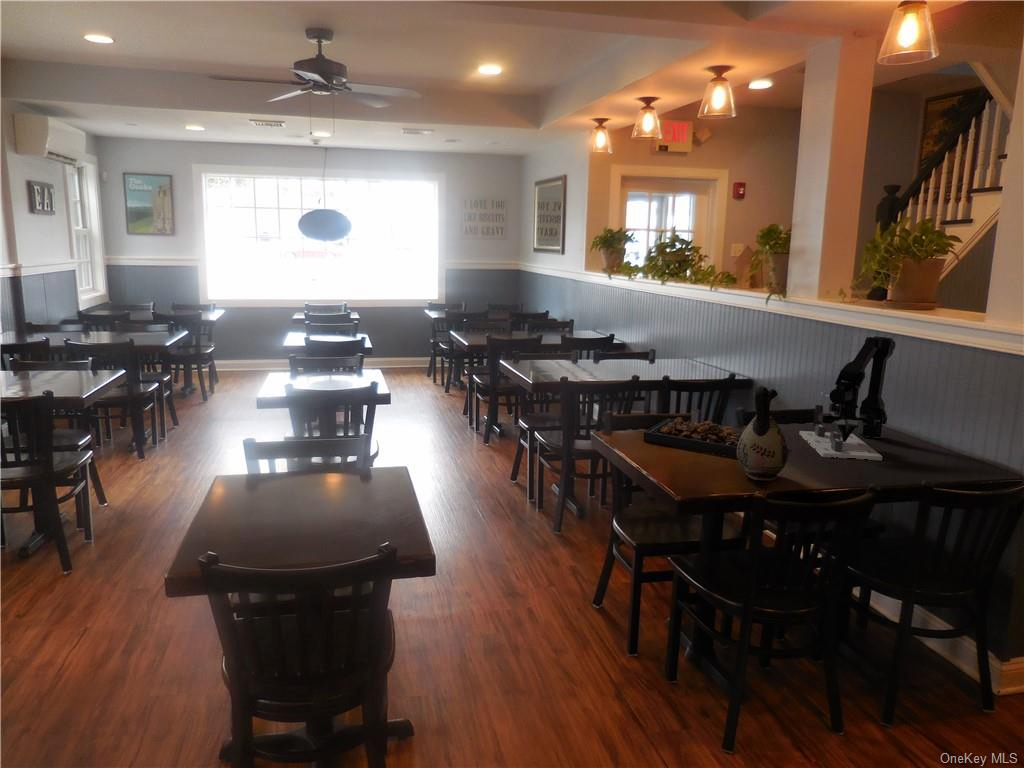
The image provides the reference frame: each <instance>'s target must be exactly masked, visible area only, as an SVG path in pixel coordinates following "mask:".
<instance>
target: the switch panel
mask: <svg viewBox="0 0 1024 768" xmlns="http://www.w3.org/2000/svg"><path fill="white" fill-rule="evenodd" d="M830 433H831V432H828V431H827V432H826V431H825V436H817V435H816V434H815V431H809V430H808V431H806V430H799V435H801V436H802V437H801V436H800V437H801V438H802V439H804V441H806V440H807V441H808V442H807V441H806V442H807V443H808V444H809V443H810V444H809V446H811V447H812V448H813V449H814V448H815V449H816V450H815V449H814V450H815V451H816V452H817V453H818V454H819V455H820V456H821V457H822V458H831V457H834V458H835V459H847V458H856V459H855V460H864V459H868V460H867V461H882V460H883V456H882V455H881V454H880V453H879V452H877V450H875V449H873V448H872V447H870V446H869V445H868V444H867V443H865V442H864V441H863V440H861V439H860V438H859V437H858V436H856V435H855V434H854V433H851V434H850V436H849V437H848V439H847V440H846V442H843V446H842V451H834V450H833V449H832V448H831V443H832V442H831V441H830ZM841 441H842V438H841ZM836 457H838V458H836ZM834 458H833V459H834ZM882 462H883V461H882Z"/></svg>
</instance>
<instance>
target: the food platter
mask: <svg viewBox="0 0 1024 768" xmlns="http://www.w3.org/2000/svg"><path fill="white" fill-rule="evenodd" d="M743 431H744V430H739V429H733V428H731V427H730V426H724V427H722V426H721V425H720V424H717V423H713V422H712V420H705V421H704V422H703V421H702V422H700V423H699V422H696V421H694V422H691V421H690V420H687V421H684V418H683V417H681V416H680V417H679V416H678V417H677V418H670V419H669V418H665V419H664V420H662V421H660V422H659V423H657V424H655V425H654V426H652V427H650V428H647V430H645V431H644V432H643V437H642V439H643V440H642V442H643V441H645V442H644V443H648V442H651V443H650V444H654V443H658V444H657V445H659V444H663V445H662V446H665V445H669V446H668V447H670V446H674V447H673V448H676V447H680V448H679V449H682V448H685V449H684V450H687V449H690V450H689V451H693V450H696V451H695V452H698V451H702V452H701V453H704V452H708V453H707V454H709V453H714V454H713V455H715V454H720V455H725V456H724V457H726V456H731V457H730V458H732V457H737V447H738V442H739V439H740V437H741V435H742V433H743ZM720 455H719V456H720Z"/></svg>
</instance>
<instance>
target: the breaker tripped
mask: <svg viewBox="0 0 1024 768" xmlns="http://www.w3.org/2000/svg"><path fill="white" fill-rule="evenodd" d="M829 433H830V441H831V442H832V438H835V439H840V440H841V434H840V432H839V431H830V432H829Z"/></svg>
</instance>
